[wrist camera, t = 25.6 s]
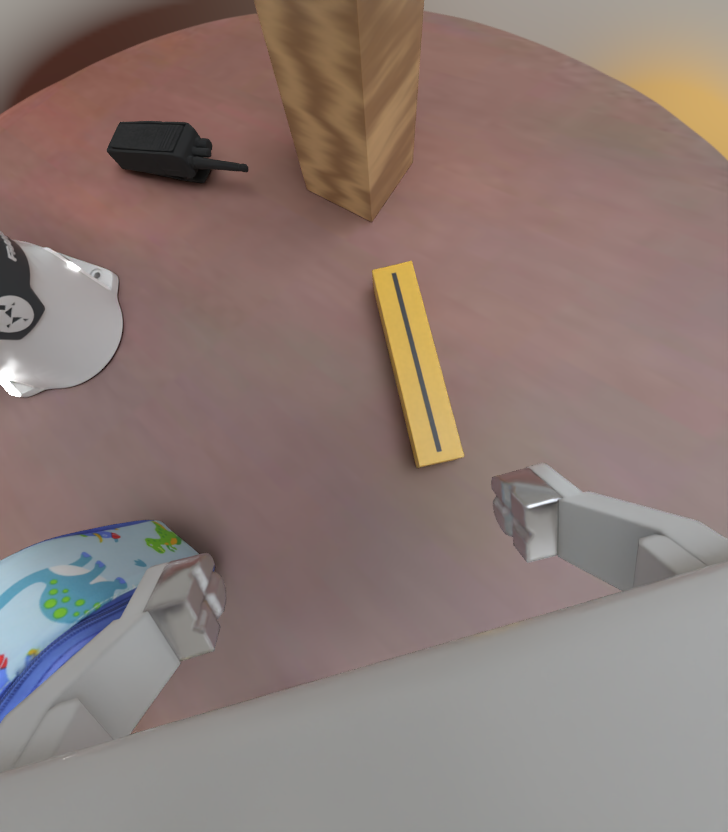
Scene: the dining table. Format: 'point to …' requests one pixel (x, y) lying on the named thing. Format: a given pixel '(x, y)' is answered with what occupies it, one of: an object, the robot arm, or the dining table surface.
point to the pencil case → (416, 366)
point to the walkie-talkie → (166, 150)
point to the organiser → (348, 92)
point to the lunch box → (71, 596)
